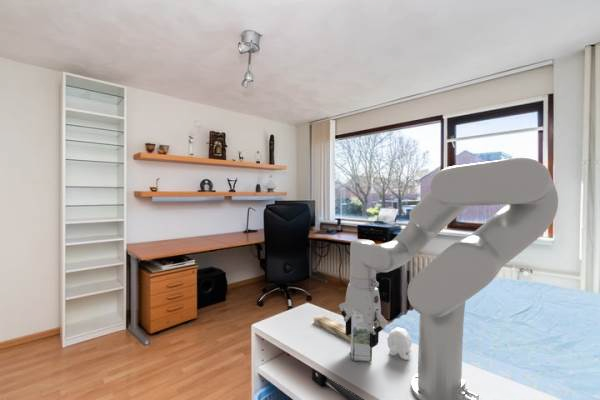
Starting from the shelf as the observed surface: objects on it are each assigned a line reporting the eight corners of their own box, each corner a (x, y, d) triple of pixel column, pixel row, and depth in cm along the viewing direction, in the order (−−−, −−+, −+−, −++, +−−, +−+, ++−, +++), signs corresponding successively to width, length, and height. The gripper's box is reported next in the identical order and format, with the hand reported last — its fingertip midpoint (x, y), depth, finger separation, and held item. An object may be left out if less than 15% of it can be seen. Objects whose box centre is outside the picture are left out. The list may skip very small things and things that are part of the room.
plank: (369, 343, 90) (370, 336, 90) (363, 347, 87) (363, 340, 87) (320, 319, 106) (321, 313, 106) (314, 322, 104) (314, 316, 103)
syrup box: (369, 351, 85) (370, 304, 84) (372, 362, 79) (373, 313, 79) (350, 349, 85) (351, 303, 85) (352, 361, 80) (352, 311, 79)
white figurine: (386, 328, 82) (396, 317, 92) (385, 357, 82) (395, 343, 92) (408, 334, 79) (416, 322, 89) (407, 365, 78) (415, 349, 88)
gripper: (396, 286, 78) (394, 347, 78) (347, 272, 91) (345, 325, 91) (381, 292, 73) (380, 357, 73) (331, 277, 86) (330, 332, 86)
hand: (361, 339), depth 82 cm, fingers closed on syrup box, 8 cm apart
